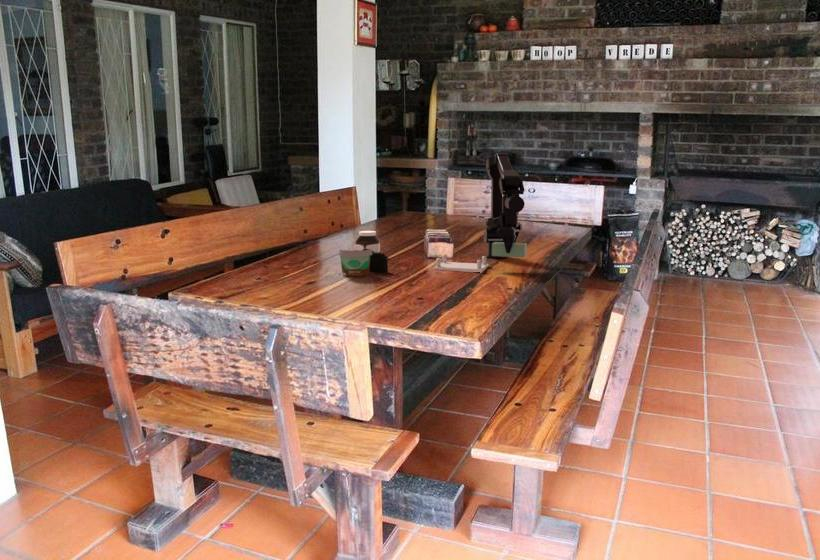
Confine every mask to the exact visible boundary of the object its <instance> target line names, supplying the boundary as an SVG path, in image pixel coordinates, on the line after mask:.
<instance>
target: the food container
mask: <svg viewBox="0 0 820 560" xmlns="http://www.w3.org/2000/svg"><path fill="white" fill-rule="evenodd" d="M337 255H338V256H339V257H340V264H341V265H340V266H341V273H342V276H343V277H347V278H352V279H354V278H355V279H358V278H366V277H368V276H369V274H370V272H369V267H370V255H372V250H371V248H370V249H369V250H362V251H361V250H352V251H350V250H344V249H339V250H338V253H337Z"/></svg>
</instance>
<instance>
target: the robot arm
mask: <svg viewBox="0 0 820 560" xmlns="http://www.w3.org/2000/svg"><path fill="white" fill-rule="evenodd" d="M485 167H486V170H487V173H486V174H487V175H488V177H489V178H490V180H491V182H490V183H491V187H490V188H491V190H490V191H491V192H490V198H491V199H490V204H491V205H490V217H488V218H487V220H486V221H485V222H486V224H485V226H486V227H485V230H484V234H483V242H484V243H486V244H487V255H486V259H503V258H504V257H505V256H492V243H494V242H504V245H505V249H506V253H510V250H511V248H512V245H513V243H517V240H518V238H519V236H520V234H521V231H522V230H523V224H522V223H521V222H518V221H519V216H520V215H519V214H520V212H521V211H523V210H524V207H525V200H524V198H522V197H521V196H520V195H524V193H525V186H524V181H523V180H522V177H521V176H520V175H519V173H518V172H516V171H514V169H513V167H512V165H511V162H510V156H509V154H508V153H505V152H504V153H503V152H501V153H500V152H497V153H495V154H493V155H492V156H489V157H488V158H487V159H486V162H485ZM518 230H519V231H518Z"/></svg>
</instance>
